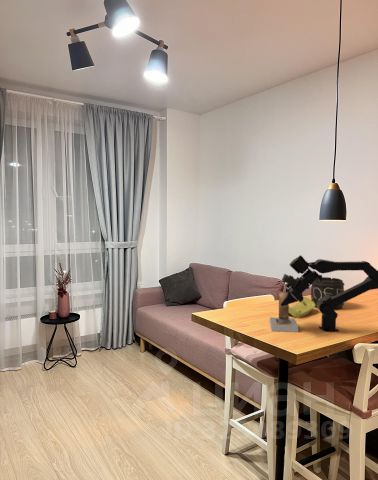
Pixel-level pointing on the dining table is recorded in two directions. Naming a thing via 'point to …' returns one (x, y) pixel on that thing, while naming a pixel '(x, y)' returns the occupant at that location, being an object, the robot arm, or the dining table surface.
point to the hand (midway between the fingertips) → (280, 304)
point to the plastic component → (302, 308)
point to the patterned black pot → (326, 289)
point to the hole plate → (283, 325)
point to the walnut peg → (283, 307)
